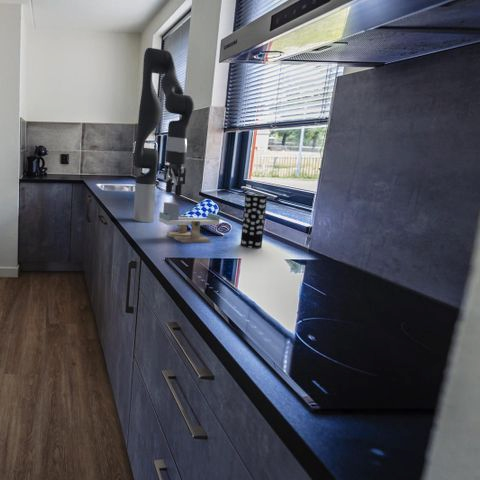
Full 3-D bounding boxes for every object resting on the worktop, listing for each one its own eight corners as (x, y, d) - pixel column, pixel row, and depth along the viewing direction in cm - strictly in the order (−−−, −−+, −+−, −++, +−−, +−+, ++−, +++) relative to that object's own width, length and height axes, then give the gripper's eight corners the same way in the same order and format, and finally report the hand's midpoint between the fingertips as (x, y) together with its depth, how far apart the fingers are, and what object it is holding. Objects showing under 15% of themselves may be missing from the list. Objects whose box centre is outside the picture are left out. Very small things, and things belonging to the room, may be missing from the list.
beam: (158, 220, 167) (159, 211, 166) (208, 220, 179) (209, 212, 178) (167, 225, 160) (168, 215, 159) (219, 224, 171) (220, 216, 171)
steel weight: (163, 217, 166) (163, 202, 164) (173, 217, 168) (174, 202, 167) (167, 219, 162) (168, 204, 161) (178, 219, 164) (179, 204, 163)
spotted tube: (262, 244, 173) (267, 195, 169) (260, 249, 164) (266, 196, 161) (241, 242, 173) (246, 192, 169) (239, 246, 165) (244, 194, 161)
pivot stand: (167, 235, 173) (168, 215, 171) (194, 234, 179) (195, 215, 178) (181, 242, 161) (183, 221, 160) (209, 242, 168) (211, 221, 166)
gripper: (159, 148, 163) (156, 191, 167) (174, 150, 152) (171, 196, 155) (177, 150, 168) (174, 191, 171) (193, 152, 156) (190, 196, 159)
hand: (173, 193), depth 163 cm, fingers open, 8 cm apart
